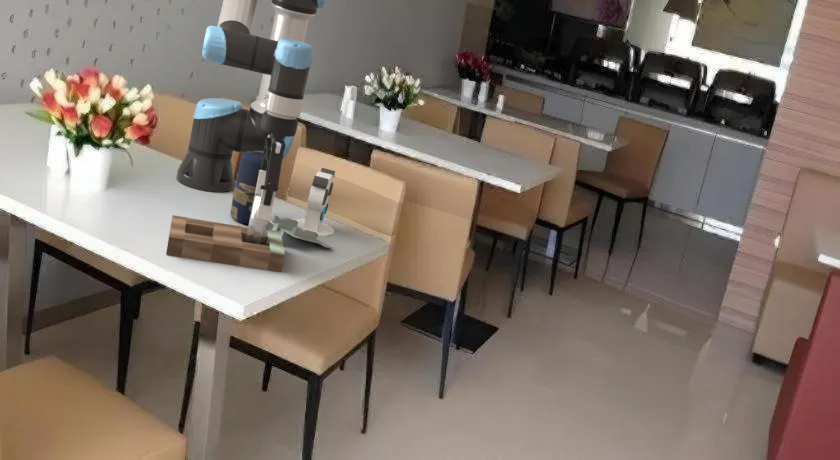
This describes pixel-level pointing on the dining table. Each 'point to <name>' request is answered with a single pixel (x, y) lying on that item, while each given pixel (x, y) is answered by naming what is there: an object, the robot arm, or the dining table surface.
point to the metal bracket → (295, 230)
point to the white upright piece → (318, 204)
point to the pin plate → (223, 244)
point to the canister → (246, 186)
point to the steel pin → (256, 224)
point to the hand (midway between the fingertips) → (261, 208)
